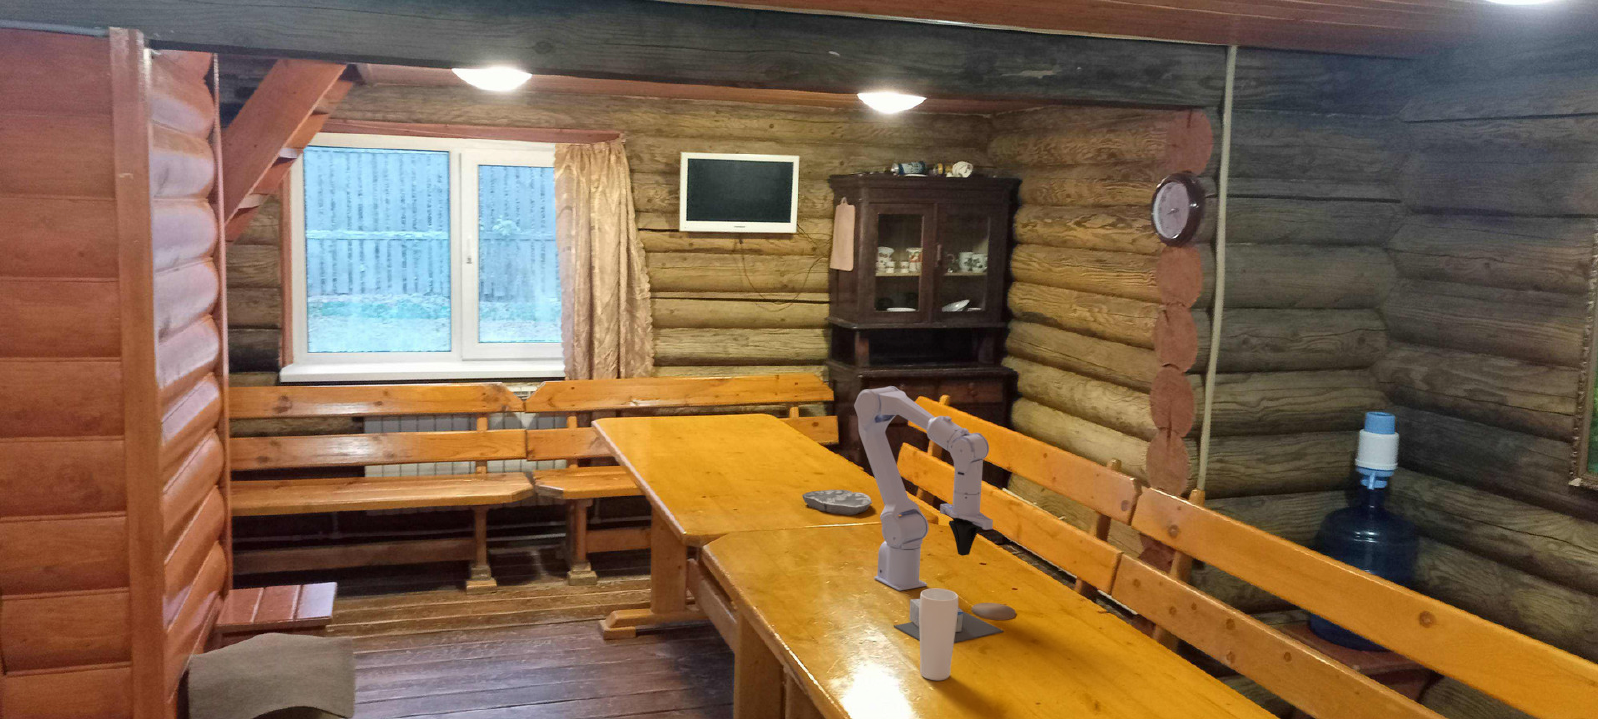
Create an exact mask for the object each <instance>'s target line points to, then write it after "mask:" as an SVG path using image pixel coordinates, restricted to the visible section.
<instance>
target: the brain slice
mask: <svg viewBox="0 0 1598 719" xmlns="http://www.w3.org/2000/svg"><path fill="white" fill-rule="evenodd" d="M801 496H802V499H803V501H804V503H806V505H807V506H808V507H809V508H813V509H815V510H817V511H820V512H827V513H829V514H835V515H837V514H838V515H844V516H846V515H847V516H854V515H857V514H860V513H864V512H866V511H867V510H868V508H869V507H870V505H872V503H873V501H872V499H871V497H870V496H869V495H868V494H865V493H863V492H859V491H858V492H857V491H856V492H852V491H851V490H847V489H827V490H815V491H808V492H805V493H803V494H802V495H801Z"/></svg>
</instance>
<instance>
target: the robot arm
mask: <svg viewBox="0 0 1598 719" xmlns="http://www.w3.org/2000/svg"><path fill="white" fill-rule="evenodd" d="M853 407H854V410H855V412H856V415H857V424H858V425H857V427H858V434H859V437H860V440H861V442H862V446H863V447H864V451H865V454H866V457H867V459H868V463H869V465H870V468H871V472H872V474H873V476H874V479H875V482H876V484H877V488H878V490H879V493H880V496H881V499H882V502H883V505H884V508H883V509H882V512H881V514H880V516H879V518H880V521H881V533H882V537H883V539H884V541H883V542H882V543H881V545H880V546H879V549H878V554H877V555H878V557H877V575H875V576H873V579H874V580H877V581H879V582H880V583H882V584H885V585H887V586H888V587H890V588H893V589H894V590H896V591H906V590H911V589H916V588H922V587H926V586H928V583H927V582H925V581H923V580H920V569H921V568H920V567H921V549H922V544H923V539H925V538H926V536H927V535H928V533H929V529H930V528H929V522H928V520H927V518H926V516H925V515H924V514H923V512H922V511H921V509H920V507H919V504H918V503H916V502H915V501H913V500H912V499H911V498H909V495H908V493H907V491H906V488H905V485H904V482H903V479H902V476H901V473H900V471H899V468H898V466H897V463H896V460H895V457H894V455H893V452H892V449H891V446H890V443H889V440H888V437H887V434H886V431H887V428H888V426H889V424H890V423H891V421H892V420H893V419H894V418H896V416H897V415H898V416H900V417H902V418H903V419H905V420H907V421H909V422H911V423H912V424H914V425H916V426H918V427H919V428H921V429H923V430H925V431H926V435H927V438H928V439H929V440H931V441H932V442H934V443H935V444H937V446H939V447H941V448H943V449H944V450H945V451H948V452H949V453H950V456H951V458H952V460H953V461H952V462H953V468H954V475H953V476H954V477H953V490H952V492H953V493H952V494H953V495H952V504H950V503H941V504H940V505H939V514H942V515H945V514H946V515H947V516H949V517H951V518H953V519H952V520H949V521H948V526H949V528H951V529H950V530H951V532H952V534H953V536H954V541H955V544H956V545H955V546H956V552H957V554H958V555H959V556H963V557H964V556H969V555H970V553H971V549H972V546H973V544H974V541H975V539H976V537H977V535H978V533H979V531H980V530H981V529H982V530H985V531H986V530H993V525H994V524H993V522H994V521H993V519H992V518H990V517H987V516H986V515H985V514H984V513H982V512H981V497H982V483H983V482H982V480H983V467H984V465H983V462H984V460H985V459H986V458H987V457H988V455H989V451H990V445H989V442H988V440H987V439H986V437H985V436H984V435H983V434H982V433H980V432H973V433H971V432H970V431H969V429H967V428H966V427H964V428H963V427H961V426H960V425H959V424H957V423H955V422H954V421H952V417H951V416H949V415H946V416H944V415H938V416H936V417H935V416H934V415H933V414H931V413H930V412H929V411H927V410H926V409H925V408H923V407H922V406H920V405H919V404H918V403H916V401H914V400H912V399H911V398H910V397H908V396H907V394H906V392H905V391H903V390H900V389H898V388H897V387H896V386H892V385H889V386H885V387H879V388H872V389H870V388H869V389H868V388H867V389H863V390H861V391H860V392H859V394H858V395H857V397H856V400H855V402H854V404H853Z"/></svg>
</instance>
